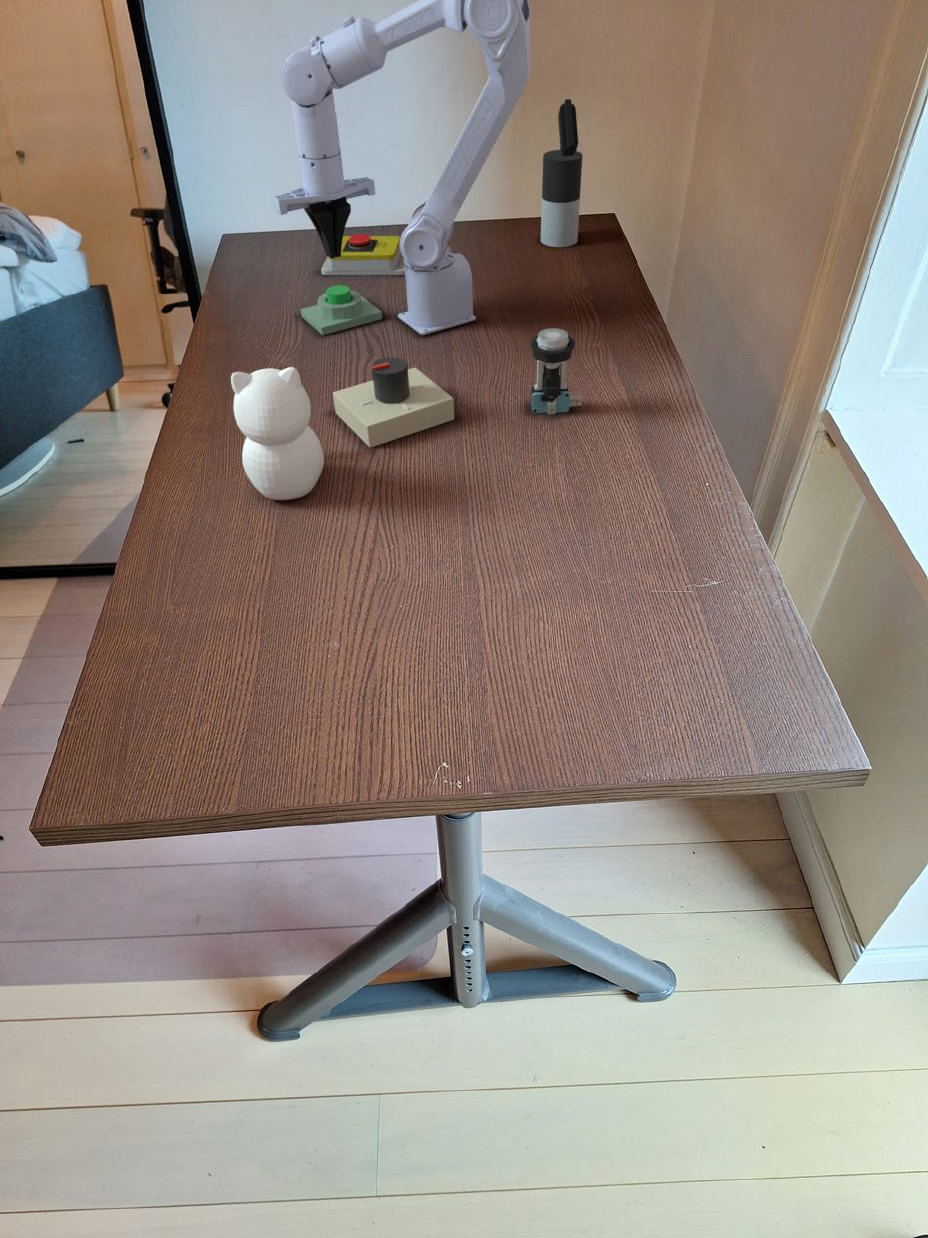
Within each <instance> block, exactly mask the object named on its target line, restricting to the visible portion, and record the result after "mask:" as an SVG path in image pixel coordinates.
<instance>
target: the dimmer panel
mask: <svg viewBox="0 0 928 1238" xmlns="http://www.w3.org/2000/svg"><path fill="white" fill-rule="evenodd" d="M408 377H409V389H410V395H409V397H408V398H407V399H406V400H404V401H402V402H398V403H383V402H380V401H378V400H377V399H376V398H375V392H374V384H373V379H372V380H369V381H366V382H362V383H359V384H356V385H352V386H349V387H346V388H343V389H339V390H337V391H333V392H332V397H333V398H332V399H333V404H334V411H335V415H337V416H338V417H339V418H340V419H341V420H342V421H343V422H344V423H345V424H346V425H347V426H348V427H349V428H350V429H351V430H352V431H353V432H354V434H356V436H358V438H360V440H361V441H363V442H364V443H365V445H367V446H368V448H370V449H372V448H374V447H376V446H379V445H382V444H385V443H389V442H392V441H394V440H397V439H400V438H403V437H407V436H409V435H412V434H416V433H419V432H421V431H424V430H428V429H430V428H433V427H436V426H439V425H442V424H445V423H448V422H452V421H454V420H455V404H454V403H455V401H454V398H453V396H451V395H450V394H449V393H448V392H446V391H445V390H444V389H443V388H441V387H440V386H439V385H438V384H437V383H435V382H434V381H433V380H431V379H430V378H429V377H428V376H427V375H425V374H424V373H423V372H422V371H421V370H419V369H418V368H417V367H411V368H408Z"/></svg>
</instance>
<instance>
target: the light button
mask: <svg viewBox="0 0 928 1238" xmlns="http://www.w3.org/2000/svg"><path fill="white" fill-rule="evenodd" d="M325 291H326V292H325V293H326V294H327V301H328V303H329V304H334V305H337V304H345V303H349V302H350V301H351V293H350V291H351V288H350V287H349V286H347V285H343V284H337V285H333V286H330V287H328V288H326V290H325Z"/></svg>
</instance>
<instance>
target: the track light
mask: <svg viewBox="0 0 928 1238" xmlns="http://www.w3.org/2000/svg"><path fill="white" fill-rule="evenodd" d="M557 121H558V122H557V123H558V134H559V135H558V136H559V147H560V148H559V149H554V150H548V151H546V152H544V153H543V155H542V179H541V180H542V181H541V182H542V183H541V216H540V217H541V219H540V220H541V221H540V242H541V244H542V245H545V246H547V247H550V248H551V247H553V248H565V247H566V248H567V247H571V246H574V245H576V244H577V243H578V241H579V239H578V237H579V222H580V220H579V219H580V205H581V204H580V203H581V188H582V169H583V152H581V151H579V150H577V149H578V147H579V133H578V119H577V109H576V106H575V104H574V103H572V99H571V98H566V99H564V102H563V103H562V104H561V105H560V106H559V110H558V114H557Z"/></svg>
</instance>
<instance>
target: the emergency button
mask: <svg viewBox="0 0 928 1238" xmlns="http://www.w3.org/2000/svg"><path fill="white" fill-rule="evenodd" d="M400 238H401V236H398V235H368V234H355V235H343V240H342V248H341V257H336V258H333V259H331V258H329V257H328V256H326V259H325V261H324V263H323V264H322V267H321V268H320V272H321V273H320V274H321V275H323V276H405V266H404V258H403V256H402V254H401V250H400Z"/></svg>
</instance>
